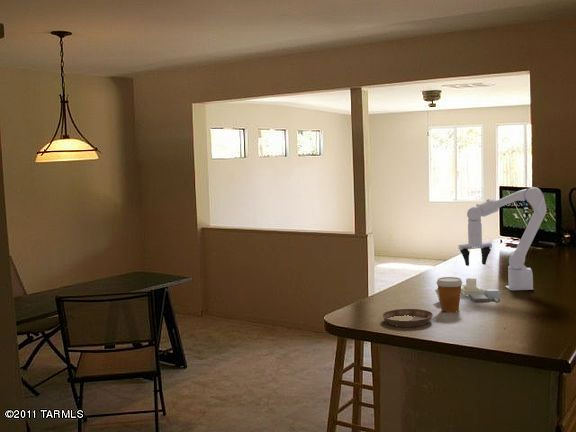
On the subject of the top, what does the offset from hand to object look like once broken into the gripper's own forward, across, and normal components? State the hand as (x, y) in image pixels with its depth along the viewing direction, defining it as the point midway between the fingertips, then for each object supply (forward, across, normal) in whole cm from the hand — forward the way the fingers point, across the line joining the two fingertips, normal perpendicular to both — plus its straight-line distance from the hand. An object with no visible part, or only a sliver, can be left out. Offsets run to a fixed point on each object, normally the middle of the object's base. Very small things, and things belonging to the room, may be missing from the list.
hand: (475, 264), depth 265 cm
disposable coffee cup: (+10, -26, -36) cm, 46 cm away
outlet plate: (+10, -7, -9) cm, 15 cm away
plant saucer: (+10, -46, -47) cm, 67 cm away
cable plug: (+10, -4, -25) cm, 27 cm away
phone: (+10, -9, -22) cm, 26 cm away
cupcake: (+10, -22, -23) cm, 33 cm away
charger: (+10, -7, -11) cm, 16 cm away
